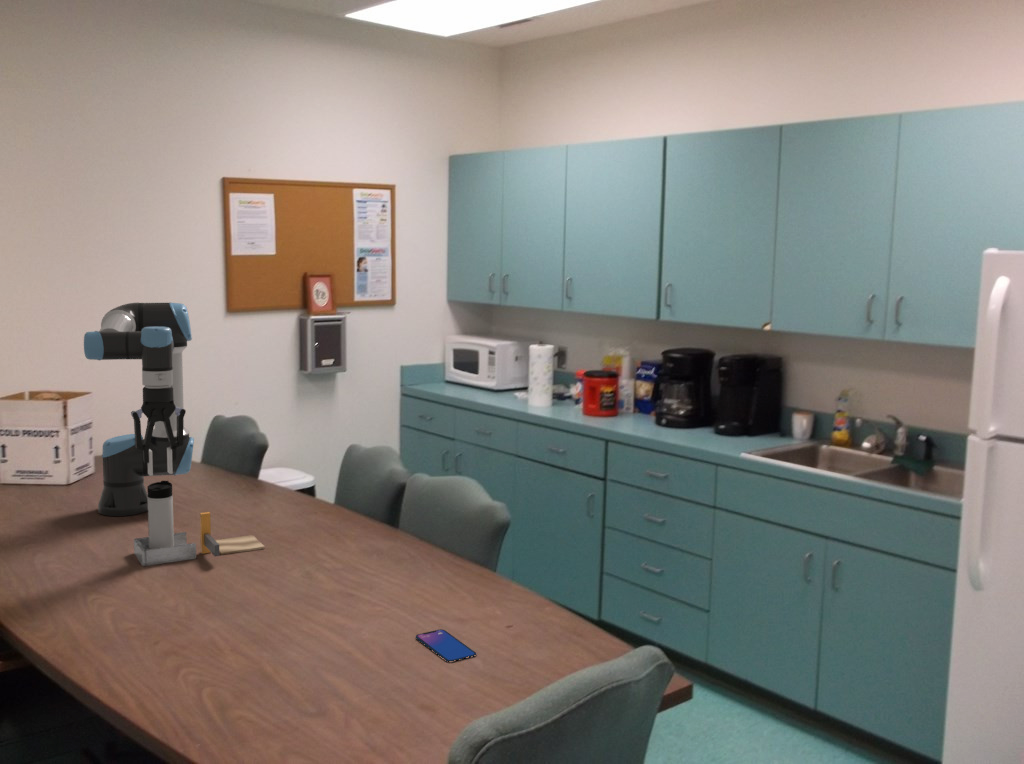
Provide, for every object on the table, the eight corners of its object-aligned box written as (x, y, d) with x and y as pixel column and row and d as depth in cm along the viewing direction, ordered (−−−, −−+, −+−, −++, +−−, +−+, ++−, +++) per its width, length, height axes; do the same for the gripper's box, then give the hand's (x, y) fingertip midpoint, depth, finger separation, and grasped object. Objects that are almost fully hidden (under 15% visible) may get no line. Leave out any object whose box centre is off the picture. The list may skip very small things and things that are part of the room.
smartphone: (448, 661, 191) (413, 635, 203) (447, 665, 191) (413, 638, 203) (478, 654, 195) (443, 628, 207) (478, 658, 195) (443, 632, 207)
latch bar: (200, 552, 256) (199, 512, 254) (209, 550, 257) (208, 511, 256) (212, 566, 245) (211, 525, 244) (222, 564, 246) (221, 524, 245)
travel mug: (178, 553, 255) (177, 480, 252) (167, 560, 248) (165, 487, 245) (156, 551, 255) (154, 479, 253) (144, 559, 249) (142, 485, 246)
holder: (134, 553, 254) (133, 538, 253) (185, 546, 261) (185, 532, 260) (142, 566, 244) (142, 551, 243) (196, 558, 251) (195, 544, 250)
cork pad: (209, 542, 264) (209, 540, 264) (252, 536, 270) (252, 534, 270) (221, 554, 254) (220, 552, 254) (264, 548, 260) (264, 546, 260)
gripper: (125, 390, 238) (127, 480, 241) (195, 386, 247) (197, 473, 250) (119, 386, 244) (122, 473, 247) (188, 382, 253) (190, 467, 256)
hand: (160, 473), depth 249 cm, fingers open, 4 cm apart
